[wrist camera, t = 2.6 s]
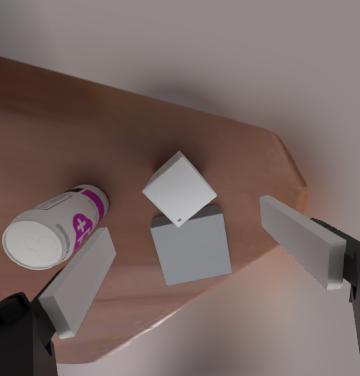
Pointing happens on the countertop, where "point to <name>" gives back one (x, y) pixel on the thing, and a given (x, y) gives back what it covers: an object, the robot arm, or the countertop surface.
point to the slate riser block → (192, 246)
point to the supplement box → (178, 189)
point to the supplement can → (55, 227)
